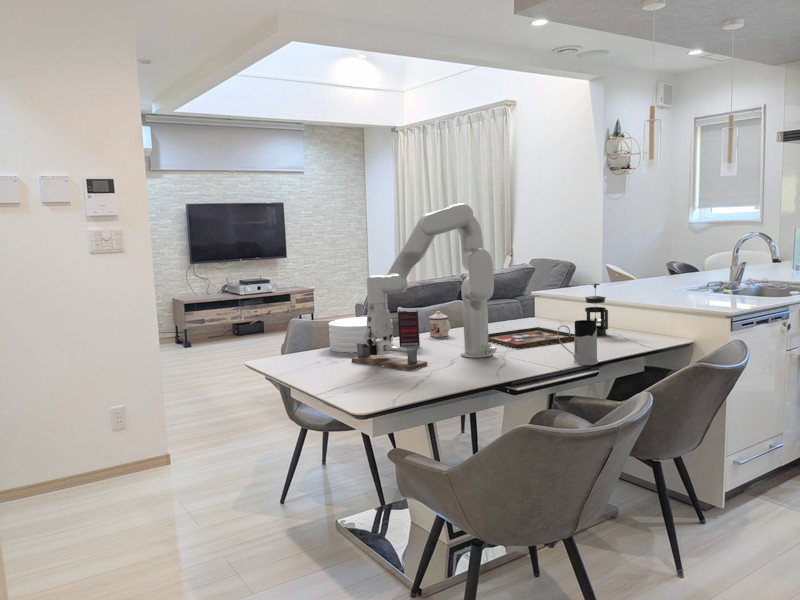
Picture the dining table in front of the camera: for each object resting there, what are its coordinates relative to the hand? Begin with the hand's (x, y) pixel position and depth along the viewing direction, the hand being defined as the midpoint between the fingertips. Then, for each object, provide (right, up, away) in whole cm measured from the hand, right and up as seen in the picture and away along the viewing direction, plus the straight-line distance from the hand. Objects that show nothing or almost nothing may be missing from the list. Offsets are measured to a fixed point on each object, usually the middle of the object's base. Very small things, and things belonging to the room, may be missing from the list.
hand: (380, 353), depth 244 cm
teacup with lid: (+27, +3, +55) cm, 61 cm away
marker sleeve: (0, 0, 0) cm, 0 cm away
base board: (+3, -4, -2) cm, 6 cm away
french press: (+96, +5, +40) cm, 104 cm away
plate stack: (-9, -1, +36) cm, 37 cm away
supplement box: (+12, 0, +30) cm, 32 cm away
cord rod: (+3, -2, -2) cm, 4 cm away
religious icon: (+65, +2, +37) cm, 74 cm away
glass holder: (+72, -2, -14) cm, 74 cm away
